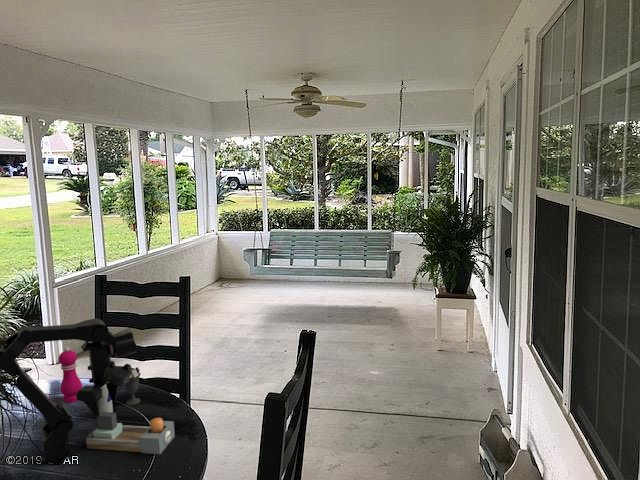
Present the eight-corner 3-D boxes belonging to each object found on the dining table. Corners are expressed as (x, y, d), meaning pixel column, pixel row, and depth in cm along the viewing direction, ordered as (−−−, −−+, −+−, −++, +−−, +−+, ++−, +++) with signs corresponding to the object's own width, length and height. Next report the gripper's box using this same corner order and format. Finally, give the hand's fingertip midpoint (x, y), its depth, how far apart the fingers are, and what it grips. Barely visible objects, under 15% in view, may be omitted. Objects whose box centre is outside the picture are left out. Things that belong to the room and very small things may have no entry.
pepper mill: (57, 402, 190) (50, 350, 186) (71, 393, 196) (65, 342, 193) (73, 404, 187) (67, 351, 184) (87, 395, 194) (81, 344, 191)
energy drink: (116, 411, 181) (112, 379, 179) (108, 419, 176) (104, 386, 174) (101, 411, 182) (97, 378, 180) (93, 419, 177) (89, 385, 175)
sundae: (122, 407, 184) (118, 367, 181) (124, 399, 190) (120, 360, 188) (142, 404, 186) (138, 364, 183) (143, 396, 192) (139, 357, 189)
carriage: (112, 441, 159) (109, 419, 158) (94, 440, 160) (91, 418, 159) (122, 431, 165) (120, 409, 164) (105, 430, 166) (102, 409, 165)
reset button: (160, 436, 157) (159, 424, 157) (149, 435, 158) (147, 423, 157) (165, 430, 161) (164, 418, 160) (154, 429, 161) (153, 417, 161)
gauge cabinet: (161, 454, 155) (160, 438, 154) (141, 453, 156) (139, 437, 155) (176, 436, 164) (175, 421, 163) (156, 435, 165) (155, 420, 165)
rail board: (142, 452, 156) (141, 441, 156) (87, 448, 159) (85, 437, 159) (156, 435, 165) (155, 425, 164) (103, 432, 168) (102, 422, 167)
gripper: (107, 374, 148) (113, 425, 151) (140, 349, 166) (145, 395, 169) (71, 373, 150) (78, 423, 152) (108, 348, 168) (113, 394, 171)
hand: (106, 408), depth 161 cm, fingers open, 9 cm apart
